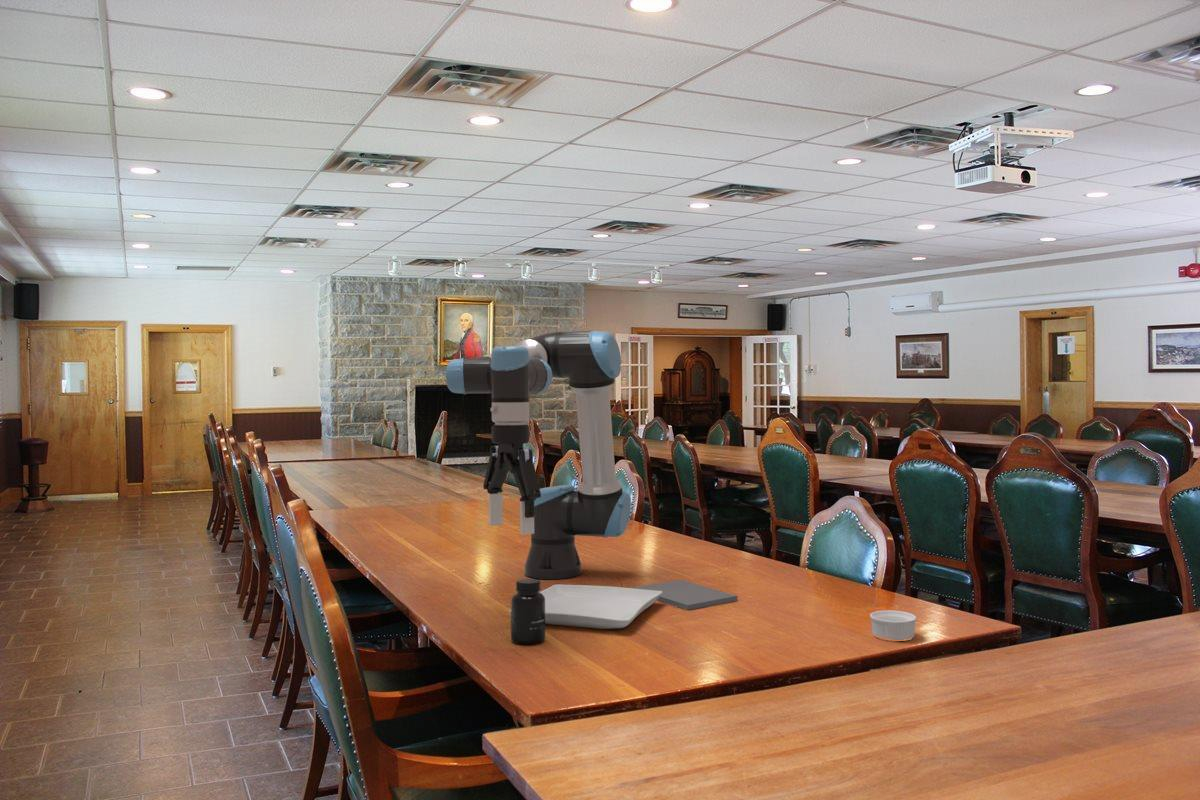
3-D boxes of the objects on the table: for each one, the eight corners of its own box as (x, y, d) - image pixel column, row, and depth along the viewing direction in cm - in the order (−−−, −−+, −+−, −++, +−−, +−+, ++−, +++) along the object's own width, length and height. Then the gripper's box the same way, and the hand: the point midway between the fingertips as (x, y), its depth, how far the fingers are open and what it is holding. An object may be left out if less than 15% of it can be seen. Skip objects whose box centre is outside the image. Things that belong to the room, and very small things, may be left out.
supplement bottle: (540, 646, 177) (539, 585, 177) (506, 644, 179) (506, 584, 179) (549, 636, 184) (548, 577, 184) (516, 635, 186) (516, 576, 185)
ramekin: (893, 646, 177) (893, 623, 177) (860, 634, 185) (860, 613, 184) (926, 639, 181) (926, 617, 181) (892, 628, 189) (892, 607, 188)
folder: (680, 584, 230) (680, 579, 230) (737, 600, 212) (737, 595, 212) (632, 592, 221) (632, 587, 221) (687, 610, 204) (687, 605, 204)
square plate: (664, 605, 210) (664, 588, 210) (629, 638, 184) (628, 619, 184) (555, 597, 219) (554, 581, 219) (506, 627, 193) (506, 608, 193)
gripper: (467, 422, 191) (467, 523, 191) (523, 426, 170) (523, 539, 170) (499, 421, 195) (499, 520, 195) (558, 425, 174) (558, 536, 174)
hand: (511, 529), depth 183 cm, fingers open, 13 cm apart
